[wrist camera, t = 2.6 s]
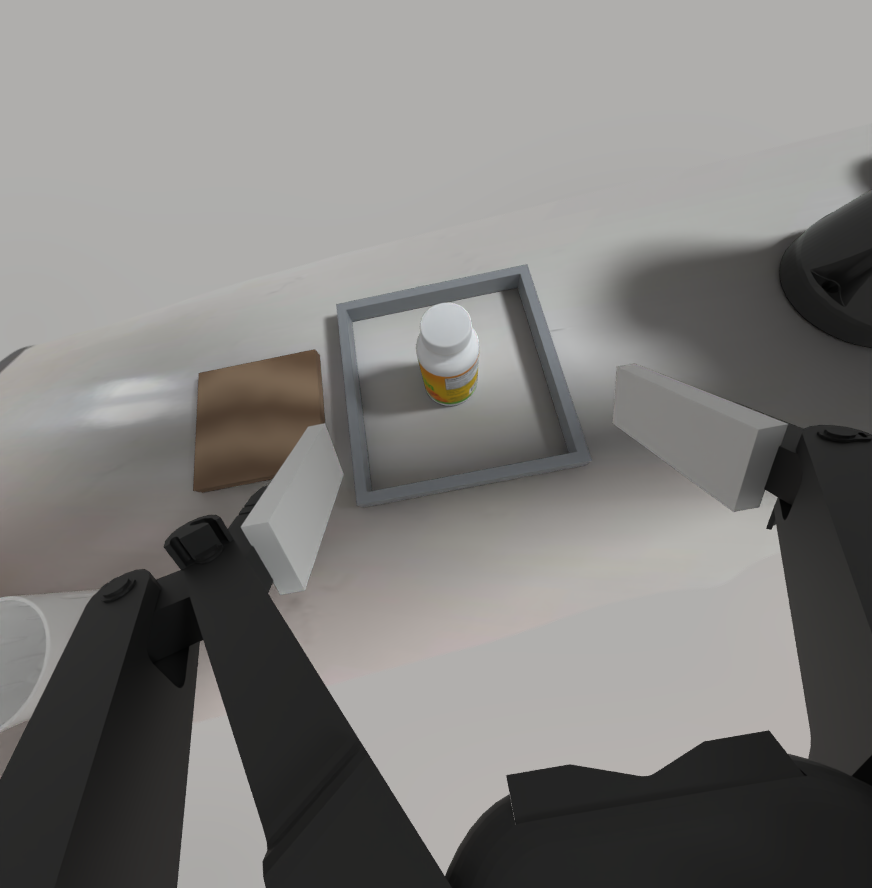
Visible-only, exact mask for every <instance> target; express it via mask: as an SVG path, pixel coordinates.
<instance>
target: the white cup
mask: <svg viewBox="0 0 872 888" xmlns="http://www.w3.org/2000/svg"><path fill="white" fill-rule="evenodd" d="M99 590H100V589H95V590H84V591H71V592H57V593H44V594H32V595H18V596H6V597H0V733H1V732H3V731H5V730H7V729H10V728H12V727H14V726H16V725H19V724H21V723H23V722H25V721H28V720H30V718H31V716H32V714H33V712H34V710H35V708H36V706H37V704H38V702H39V700H40V698H41V696H42V694H43V692H44V690H45V688H46V686H47V684H48V682H49V680H50V678H51V676H52V674H53V672H54V669H55V667H56V665H57V663H58V661H59V659H60V657H61V655H62V653H63V651H64V649H65V647H66V645H67V643H68V641H69V639H70V637H71V635H72V633H73V631H74V629H75V627H76V625H77V623H78V621H79V619H80V617H81V615H82V613H83V611H84V608H85V606H86V604H87V603H88V602H89V600H90V599H91V598H92V596H93V595H94V594H96V593H97V592H98V591H99Z"/></svg>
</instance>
